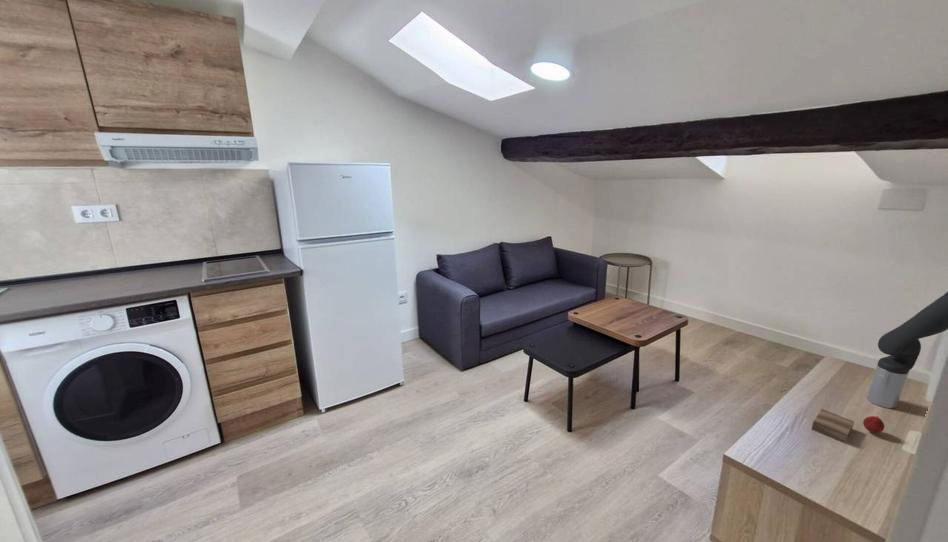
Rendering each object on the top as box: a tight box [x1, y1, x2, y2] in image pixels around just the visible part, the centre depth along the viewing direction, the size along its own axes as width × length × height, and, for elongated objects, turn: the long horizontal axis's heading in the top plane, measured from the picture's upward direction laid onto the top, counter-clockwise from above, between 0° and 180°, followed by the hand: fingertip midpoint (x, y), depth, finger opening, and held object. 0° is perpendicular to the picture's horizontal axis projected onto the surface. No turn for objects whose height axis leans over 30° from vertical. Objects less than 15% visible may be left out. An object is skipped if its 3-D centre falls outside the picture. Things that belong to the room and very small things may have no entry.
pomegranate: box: [862, 414, 885, 434], centre depth 149 cm, size 6×6×8 cm
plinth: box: [811, 409, 855, 444], centre depth 152 cm, size 12×10×4 cm
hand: (932, 403), depth 135 cm, fingers open, 8 cm apart
